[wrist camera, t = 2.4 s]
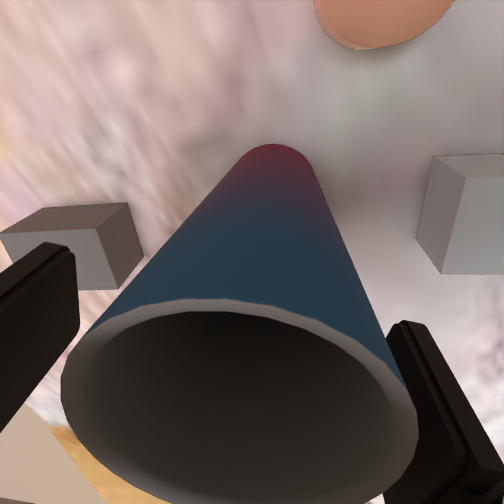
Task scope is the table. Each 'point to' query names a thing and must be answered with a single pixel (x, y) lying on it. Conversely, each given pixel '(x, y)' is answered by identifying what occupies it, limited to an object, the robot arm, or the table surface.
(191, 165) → the table surface
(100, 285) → the taupe block
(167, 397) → the cup
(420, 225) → the slate block
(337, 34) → the terracotta ball
